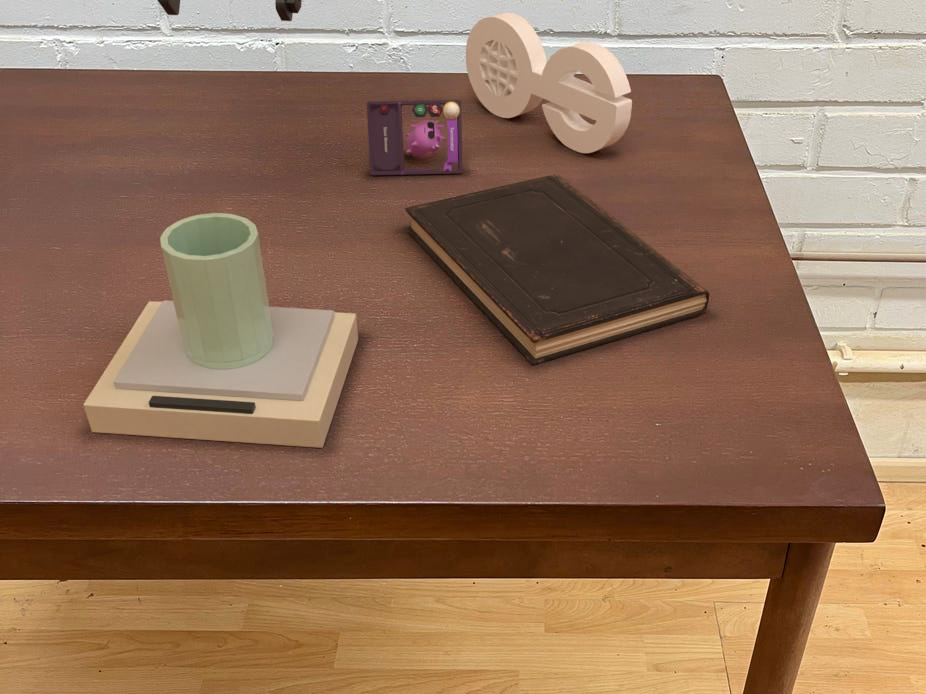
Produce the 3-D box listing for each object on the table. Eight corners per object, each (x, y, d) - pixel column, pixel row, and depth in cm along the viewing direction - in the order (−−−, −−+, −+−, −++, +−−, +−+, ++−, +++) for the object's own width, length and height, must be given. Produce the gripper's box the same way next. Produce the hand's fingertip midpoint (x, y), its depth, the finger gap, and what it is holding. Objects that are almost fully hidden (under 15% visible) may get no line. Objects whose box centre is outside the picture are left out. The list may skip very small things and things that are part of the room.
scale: (91, 432, 68) (80, 397, 66) (155, 327, 78) (147, 293, 76) (322, 448, 67) (318, 413, 65) (358, 339, 77) (355, 306, 75)
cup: (172, 366, 69) (146, 256, 63) (200, 317, 74) (177, 210, 68) (261, 372, 69) (242, 261, 63) (283, 322, 73) (267, 215, 68)
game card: (366, 101, 95) (461, 100, 95) (368, 100, 99) (458, 98, 100) (370, 175, 97) (463, 173, 98) (371, 170, 102) (460, 168, 103)
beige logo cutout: (465, 101, 112) (465, 6, 105) (480, 96, 113) (481, 2, 107) (610, 167, 100) (621, 63, 93) (625, 160, 101) (637, 58, 94)
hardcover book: (532, 365, 75) (533, 339, 73) (406, 231, 90) (405, 207, 88) (707, 313, 80) (711, 288, 79) (560, 195, 95) (562, 172, 94)
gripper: (131, -244, 71) (109, -20, 70) (331, -238, 70) (310, -11, 69) (170, -169, 78) (150, 34, 77) (351, -163, 77) (333, 43, 76)
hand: (226, 12), depth 73 cm, fingers open, 8 cm apart
